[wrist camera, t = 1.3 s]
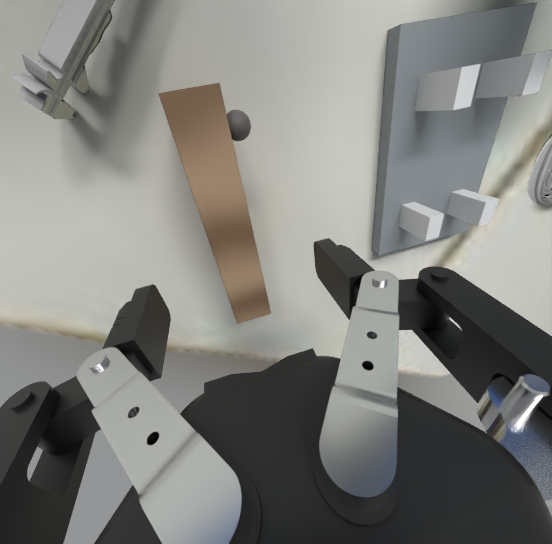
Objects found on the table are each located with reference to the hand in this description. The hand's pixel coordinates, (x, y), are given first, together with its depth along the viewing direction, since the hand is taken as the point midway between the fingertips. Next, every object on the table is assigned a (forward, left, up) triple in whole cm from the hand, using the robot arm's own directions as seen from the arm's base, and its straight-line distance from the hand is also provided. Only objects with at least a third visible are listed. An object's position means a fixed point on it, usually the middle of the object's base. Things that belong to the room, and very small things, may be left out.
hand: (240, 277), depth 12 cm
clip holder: (0, +22, -13) cm, 26 cm away
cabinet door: (0, 0, -13) cm, 13 cm away
